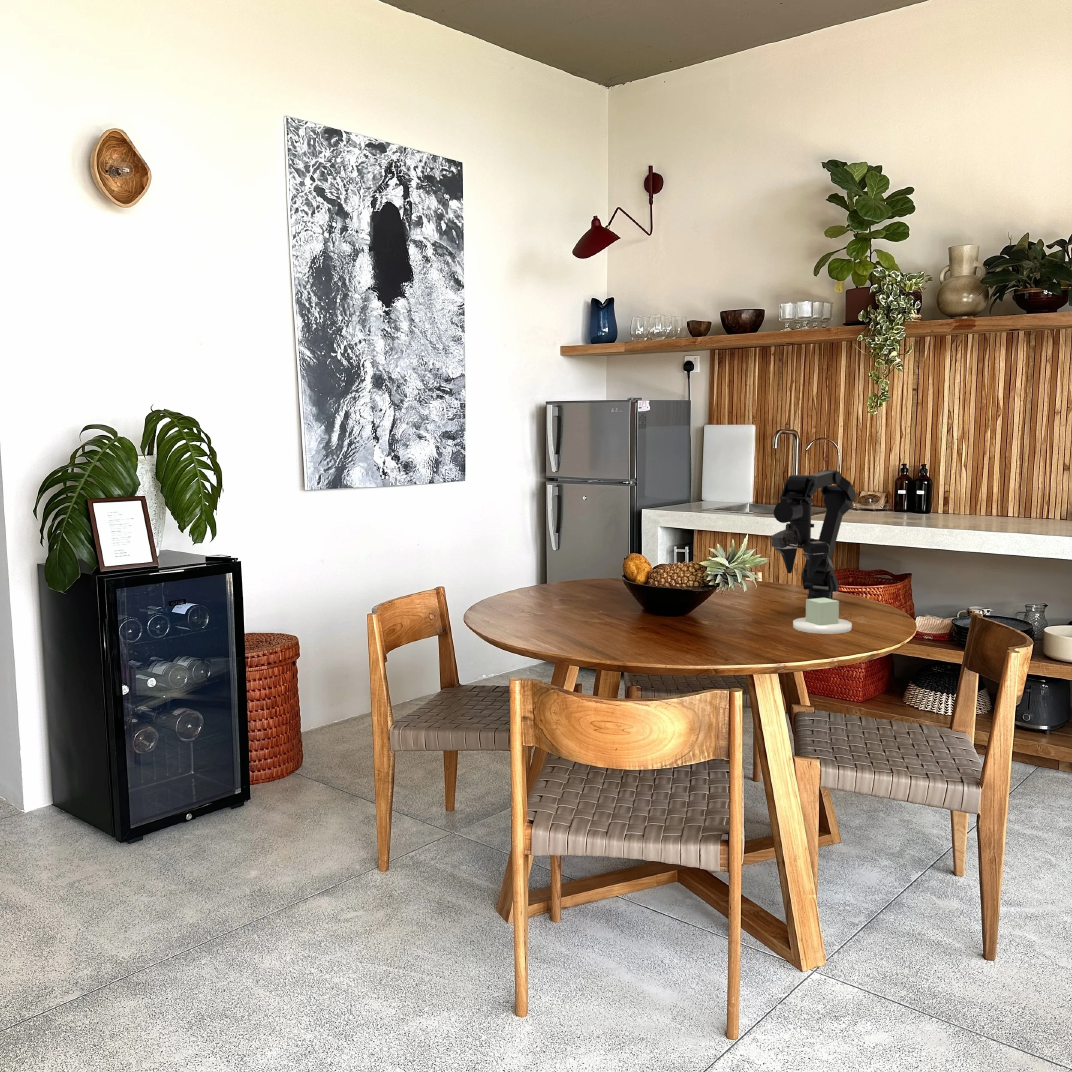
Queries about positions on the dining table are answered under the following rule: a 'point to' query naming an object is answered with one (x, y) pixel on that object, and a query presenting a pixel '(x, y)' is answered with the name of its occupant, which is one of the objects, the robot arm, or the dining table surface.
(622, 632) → the dining table surface
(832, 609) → the sage cube
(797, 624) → the plate
